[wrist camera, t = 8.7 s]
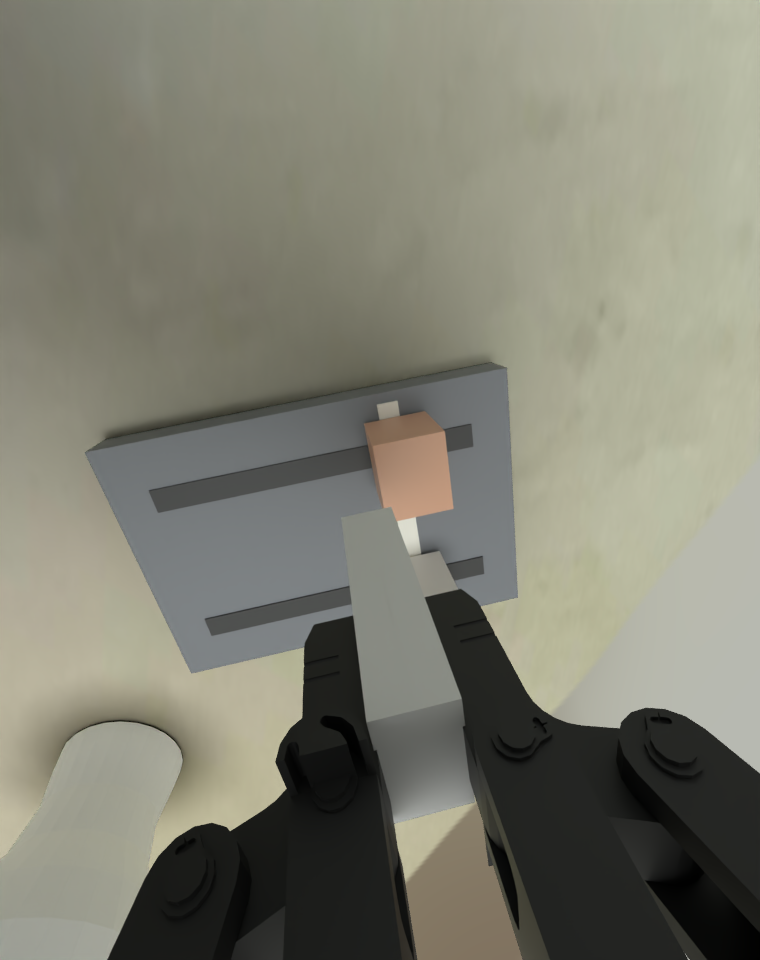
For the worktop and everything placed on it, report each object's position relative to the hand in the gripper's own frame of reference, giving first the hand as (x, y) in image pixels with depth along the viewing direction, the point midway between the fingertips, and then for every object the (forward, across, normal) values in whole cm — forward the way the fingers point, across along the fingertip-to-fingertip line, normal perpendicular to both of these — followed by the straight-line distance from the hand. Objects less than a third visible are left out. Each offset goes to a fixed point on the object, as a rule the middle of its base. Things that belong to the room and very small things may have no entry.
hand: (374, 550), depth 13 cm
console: (+11, -2, -4) cm, 12 cm away
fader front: (+9, +2, 0) cm, 9 cm away
